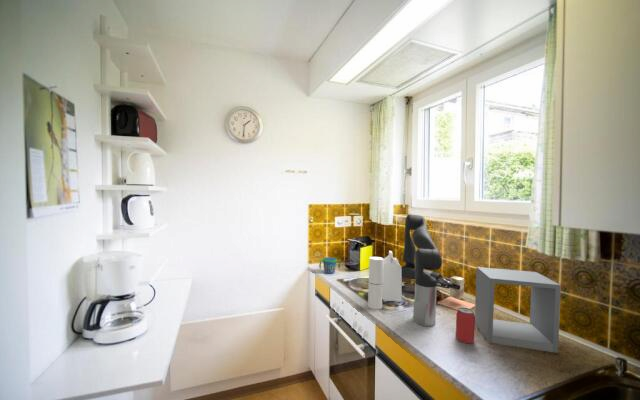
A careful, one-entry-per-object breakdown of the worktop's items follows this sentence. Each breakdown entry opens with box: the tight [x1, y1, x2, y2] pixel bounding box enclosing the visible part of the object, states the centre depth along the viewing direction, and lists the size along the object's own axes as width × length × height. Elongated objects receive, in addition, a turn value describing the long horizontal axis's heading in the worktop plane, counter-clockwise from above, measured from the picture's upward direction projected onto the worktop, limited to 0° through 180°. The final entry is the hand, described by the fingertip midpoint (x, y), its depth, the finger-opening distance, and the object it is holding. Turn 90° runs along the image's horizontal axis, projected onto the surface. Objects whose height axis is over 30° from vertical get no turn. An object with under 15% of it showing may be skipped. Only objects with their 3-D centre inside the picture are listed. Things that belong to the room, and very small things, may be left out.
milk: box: [382, 250, 403, 302], centre depth 148 cm, size 12×12×26 cm
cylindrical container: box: [367, 256, 384, 310], centre depth 136 cm, size 7×7×25 cm
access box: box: [474, 266, 562, 354], centre depth 110 cm, size 18×23×26 cm
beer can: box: [455, 307, 476, 344], centre depth 106 cm, size 7×7×12 cm
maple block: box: [449, 275, 465, 300], centre depth 141 cm, size 5×5×10 cm
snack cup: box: [318, 256, 341, 275], centre depth 193 cm, size 16×10×10 cm
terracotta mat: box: [436, 296, 475, 311], centre depth 141 cm, size 14×14×1 cm
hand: (462, 286), depth 139 cm, fingers closed on maple block, 5 cm apart
